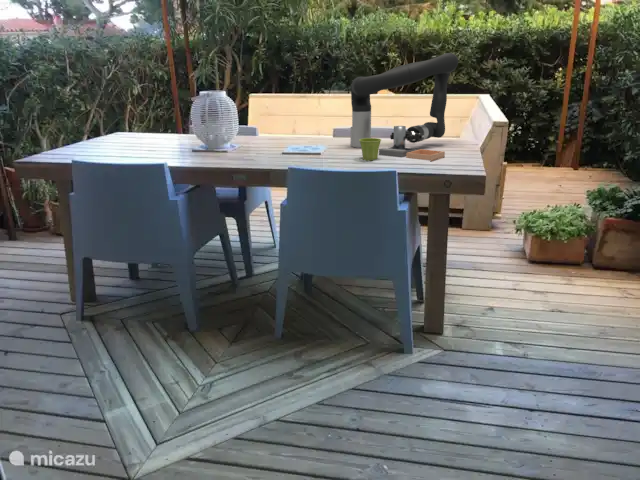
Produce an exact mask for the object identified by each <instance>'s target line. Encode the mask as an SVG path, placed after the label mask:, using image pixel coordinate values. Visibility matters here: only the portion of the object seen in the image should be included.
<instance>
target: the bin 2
mask: <svg viewBox="0 0 640 480" xmlns="http://www.w3.org/2000/svg"><path fill="white" fill-rule="evenodd" d="M445 152H446V151H443V150H432V149H431V150H430V149H422V148H420V149H416V150H415V151H412V152H408V153H406V156H405V158H407V159H416V160H424V161H430V162H431V163H432V162H435V161H438V160H441V159H443V158H445V155H446V153H445Z"/></svg>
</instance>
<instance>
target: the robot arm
mask: <svg viewBox="0 0 640 480" xmlns="http://www.w3.org/2000/svg"><path fill="white" fill-rule="evenodd" d="M458 64H459V58H458V57H457V55H456V54H454V53H451V52H445V53H443V54H441V55H439V56H436V57H433V58H429V59H427V60H421V61H415V62H411V63H407V64H403V65H399V66H396V67H394V68H391V69H388V70H386V71H384V72H382V73H380V74H375V75H369V76H357V77H355V78H354V79H353V80H352V82H351V86H350V88H351V89H350V92H351V94H350V95H351V96H350V100H351V110H352V112H351V117H352V119H351V120H352V121H351V125H352V126H351V127H350V147H353V148H359V149H362V148H361V144H360V141H359V140H360V139H364V138H372V104H371V95H372V94H375V93H378V92H380V91H383V90H387V89H388V90H389V89H394V88H395V89H396V88H400V87H403V86H407V85H411V84H414V83H417V82H419V81H422V80H424V79H426V78H429V77H431V76H434V85H433V87H434V88H433V93H432V99H431V105H430V110H429V116H430V117H432V118H435V119H436V122H433V121H426V122H425V123H424V124H417V125H413V126H410V127H408V128H407V130H406V135H405V141H407V142H409V143H411V144H412V143H413V144H416V143H419V142H423V141H425V140H428V139H430V138H437V139H438V138H442V137H443V136H444V135H445V132H446V123H445V112H446V107H447V96H448V95H447V94H448V93H447V88H448V81H449V78H450V75H451V73H452V72H454V71H455V70H456V69H457V67H458V66H459V65H458ZM389 139H390V140H394V131H393V132H391V134H390V137H389Z"/></svg>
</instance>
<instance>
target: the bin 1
mask: <svg viewBox="0 0 640 480" xmlns="http://www.w3.org/2000/svg"><path fill="white" fill-rule="evenodd" d="M415 150H417V148H412V147H411V148H410V147H405V150H401V149H393V146H389V147H382V148H381V147H379V150H378V156H388V157H397V158H404V157H405V158H406V153H408V152H412V151H415Z"/></svg>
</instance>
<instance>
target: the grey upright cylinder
mask: <svg viewBox="0 0 640 480" xmlns="http://www.w3.org/2000/svg"><path fill="white" fill-rule="evenodd" d="M406 128H407V126H405V125H394V126H393V132H394V139H393V146H392V147H393V149H401V150H405V148H406V140H405V135H406V131H407V130H406Z"/></svg>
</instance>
